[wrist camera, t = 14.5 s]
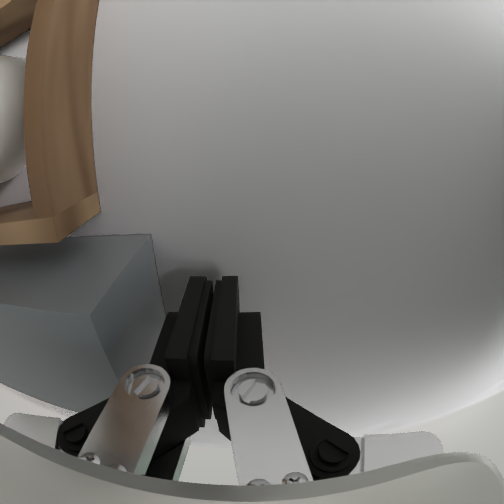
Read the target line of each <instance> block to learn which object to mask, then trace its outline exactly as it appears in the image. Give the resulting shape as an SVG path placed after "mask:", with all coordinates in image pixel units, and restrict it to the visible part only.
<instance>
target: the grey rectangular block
mask: <svg viewBox="0 0 504 504" xmlns="http://www.w3.org/2000/svg"><path fill="white" fill-rule="evenodd" d="M165 318H166V314H165V310H164V305H163V300H162V295H161V290H160V285H159V280H158V275H157V269H156V263H155V257H154V251H153V245H152V238H151V234H139V235H111V236H88V237H67V238H64V239H62V240H61V241H60V242H58V243H37V244H16V245H0V383H2V384H4V385H6V386H8V387H11V388H13V389H15V390H17V391H20V392H22V393H24V394H27V395H29V396H32V397H34V398H37V399H39V400H42V401H45V402H47V403H50V404H53V405H56V406H59V407H62V408H65V409H68V410H72V411H75V412H78V413H79V412H81V411H83V410H85V409H88V408H90V407H92V406H94V405H96V404H98V403H100V402H102V401H104V400H106V399H107V398H109V397H111V395H112V393H113V391H114V390H115V388H116V386H117V385H118V383H119V381H120V379H121V378H122V376H123V375H124V374H125V373H126V372H127V371H128V370H130V369H131V368H133V367H135V366H138V365H143V364H150V361H151V358H152V355H153V352H154V349H155V346H156V343H157V340H158V337H159V335H160V332H161V329H162V326H163V324H164V321H165Z"/></svg>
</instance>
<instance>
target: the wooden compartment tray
mask: <svg viewBox="0 0 504 504" xmlns="http://www.w3.org/2000/svg"><path fill="white" fill-rule="evenodd" d="M98 5H99V0H0V47H2V46H3V45H5V44H6V43H8V42H9V41H11V40H12V39H14V38H15V37H17V36H18V35H20V34H22V33H23V32H25V31H27V30H28V29H30V28H31V30H30V36H29V42H28V49H27V57H26V66H25V78H24V99H23V121H24V143H25V156H26V165H27V174H28V181H29V188H30V194H31V200H32V201H30V202H25V203H19V204H14V205H9V206H4V207H0V245H16V244H37V243H58V242H60V241H61V240H62V239H64V238H65V237H66V236H68V235H69V234H70V233H72V232H73V231H74V230H76V229H77V228H78V227H80V226H81V225H83V224H84V223H85V222H87V221H88V220H90V219H91V218H92V217H94V216H95V215H97V214H98V213H100V212H101V210H100V203H99V197H98V190H97V182H96V173H95V164H94V153H93V139H92V119H91V76H92V56H93V44H94V34H95V25H96V18H97V11H98Z"/></svg>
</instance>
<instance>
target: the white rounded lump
mask: <svg viewBox="0 0 504 504" xmlns="http://www.w3.org/2000/svg"><path fill="white" fill-rule="evenodd" d="M25 66H26V59H25V58H19V57H12V56H3V55H0V183H3V182H5V181H8V180H10V179H13V178H14V177H16V176H17V175H18V174H19V173H20V172H21V171H22V170H23V169H24V168H25V166H26V156H25V143H24V121H23V99H24V78H25Z"/></svg>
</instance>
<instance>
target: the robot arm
mask: <svg viewBox="0 0 504 504" xmlns="http://www.w3.org/2000/svg"><path fill="white" fill-rule="evenodd" d="M212 406H213V411H214V415H215V419H217V422H218V427H219V431H220V432H221V433H222V434H223V435H224V436H225V437H227V438H228V439H229V440H230V441H231V442H232V448H233V454H234V460H235V466H236V472H237V477H238V483H239V486H233V485H211V484H198V483H188V482H179V481H178V480H179V477H180V474H181V471H182V468H183V464H184V461H185V458H186V455H187V452H188V449H189V445H190V442H191V435H193V434H194V433H196V432H197V431H199V427H205V419H211V415H212ZM0 504H504V479H503V477H502V475H501V473H500V472H499V470H498V469H497V467H496V466H495V464H494V463H493V462H492V461H491V460H490V459H488V458H487V457H485V456H483V455H480V454H476V453H469V452H451V453H443V448H442V444H441V441H440V440H439V438H438V437H437V436H436V435H434V434H432V433H430V432H423V431H421V432H411V433H399V434H375V435H364V436H363V437H352V436H350V435H349V434H348V433H346V432H344V431H342V430H340V429H339V428H337V427H335V426H333V425H331V424H330V423H328V422H326V421H324V420H323V419H321V418H319V417H318V416H316V415H314V414H313V413H311V412H309V411H308V410H306V409H304V408H303V407H301V406H299V405H298V404H296V403H295V402H293V401H291V400H290V399H288V398H287V397H285V394H284V391H283V388H282V385H281V383H280V381H279V379H278V378H277V377H276V376H275V375H274V374H273V373H271V372H269V371H267V370H265V369H264V356H263V342H262V328H261V314H260V312H240V311H239V287H238V276H222V280H216V285H215V291H214V292H213V282H212V280H207V277H206V276H191V277H190V279H189V282H188V285H187V288H186V291H185V294H184V297H183V300H182V303H181V306H180V309H179V312H168V314H167V315H166V318H165V321H164V324H163V326H162V329H161V332H160V335H159V337H158V340H157V343H156V346H155V349H154V352H153V355H152V358H151V361H150V364H143V365H138V366H135V367H133V368H131V369H130V370H128V371H127V372H126V373H125V374H124V375H123V376H122V378H121V379H120V381H119V383H118V385H117V386H116V388H115V390H114V391H113V393H112V395H111V397H109V398H107V399H106V400H104V401H102V402H100V403H98V404H96V405H94V406H92V407H90V408H88V409H85V410H83V411H81V412H79V413H77V414H75V415H73V416H71V417H69V418H67V419H66V420H65V421H62V420H61V419H60V418H53V417H43V416H35V415H29V414H22V413H14V414H12V415H10V416H9V417H8V418H7V419H6V421H5V423H4V425H2V424H0Z"/></svg>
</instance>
